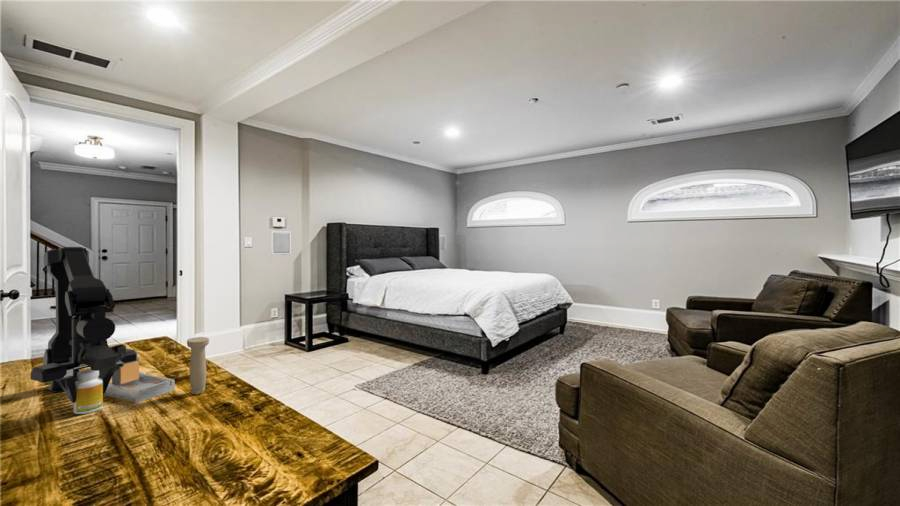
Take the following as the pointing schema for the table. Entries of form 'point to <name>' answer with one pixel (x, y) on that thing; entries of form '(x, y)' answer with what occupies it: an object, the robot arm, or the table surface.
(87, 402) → the supplement bottle
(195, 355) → the handle
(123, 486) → the table surface
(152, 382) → the grey tray
